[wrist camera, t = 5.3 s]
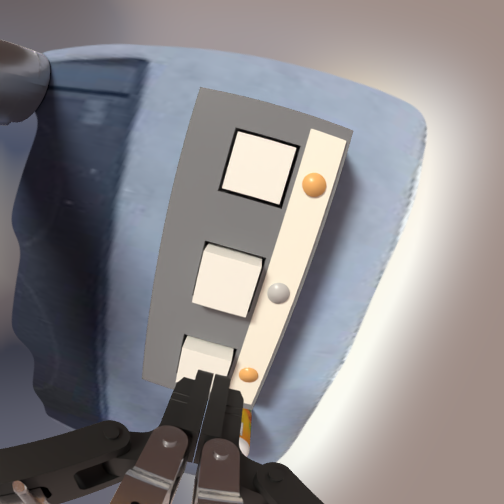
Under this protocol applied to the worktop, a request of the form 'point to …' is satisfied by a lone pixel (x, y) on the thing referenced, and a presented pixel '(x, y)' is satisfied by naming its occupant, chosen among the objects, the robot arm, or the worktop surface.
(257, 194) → the near key
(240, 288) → the middle key
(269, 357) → the button board
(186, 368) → the far key
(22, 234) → the worktop surface
